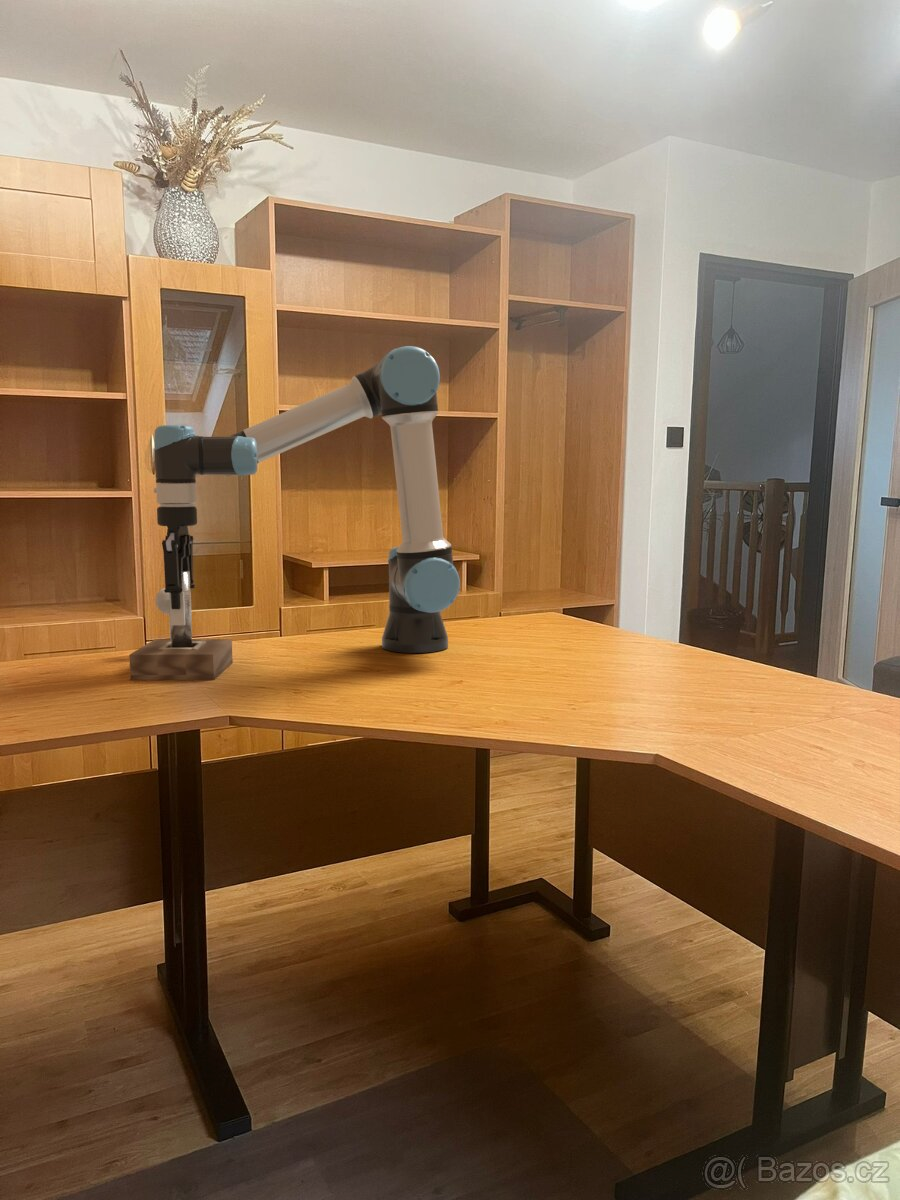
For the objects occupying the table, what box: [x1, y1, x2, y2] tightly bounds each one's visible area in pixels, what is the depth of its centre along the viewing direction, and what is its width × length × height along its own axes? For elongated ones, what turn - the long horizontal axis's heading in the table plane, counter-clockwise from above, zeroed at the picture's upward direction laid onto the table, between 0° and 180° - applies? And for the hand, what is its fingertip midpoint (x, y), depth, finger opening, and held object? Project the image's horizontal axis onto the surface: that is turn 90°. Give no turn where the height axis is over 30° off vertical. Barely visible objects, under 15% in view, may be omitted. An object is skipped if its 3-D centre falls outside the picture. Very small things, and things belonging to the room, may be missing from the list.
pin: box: [171, 571, 193, 648], centre depth 179 cm, size 4×4×15 cm
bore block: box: [128, 638, 234, 681], centre depth 181 cm, size 16×16×5 cm
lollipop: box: [154, 587, 171, 639], centre depth 196 cm, size 6×6×15 cm
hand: (181, 622), depth 180 cm, fingers closed on pin, 4 cm apart
